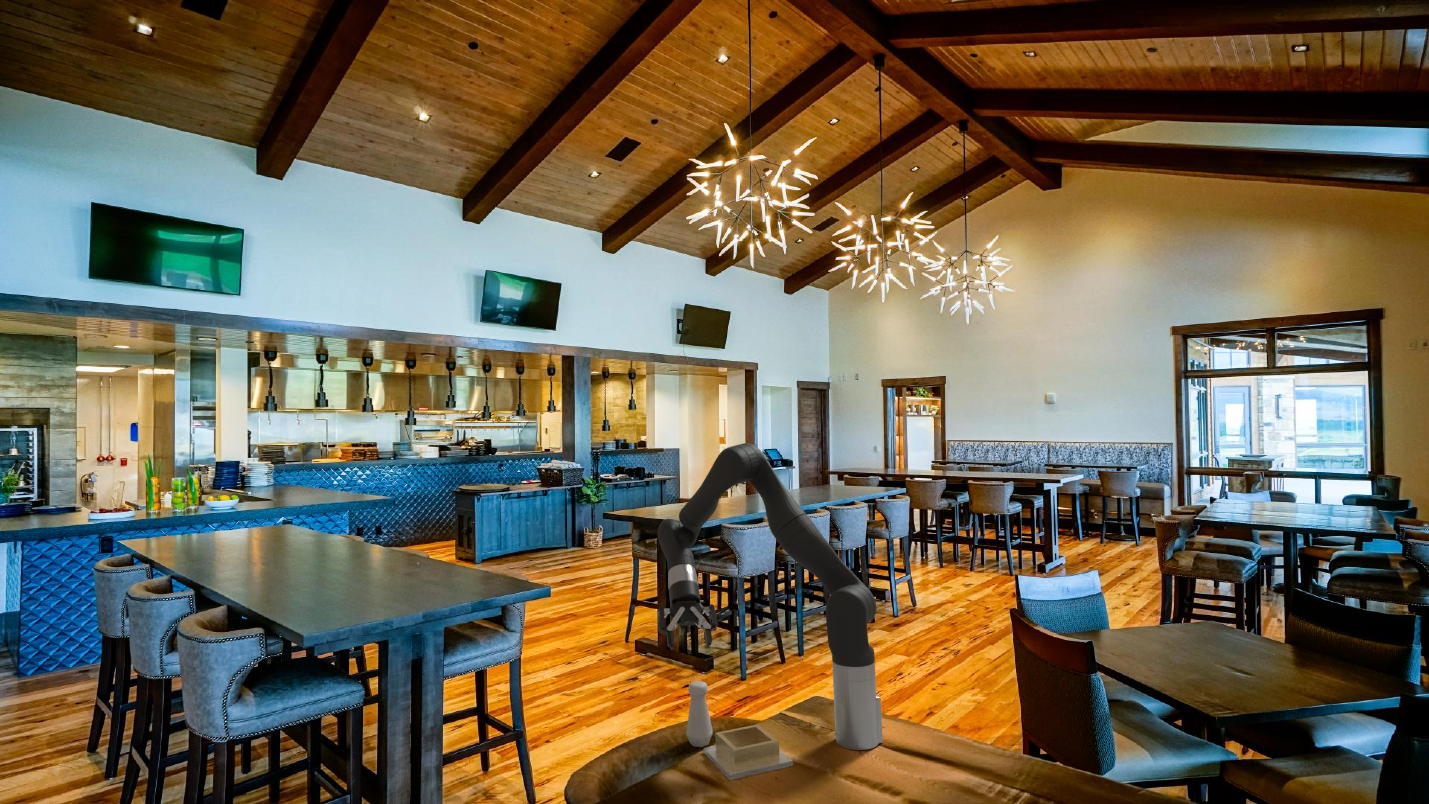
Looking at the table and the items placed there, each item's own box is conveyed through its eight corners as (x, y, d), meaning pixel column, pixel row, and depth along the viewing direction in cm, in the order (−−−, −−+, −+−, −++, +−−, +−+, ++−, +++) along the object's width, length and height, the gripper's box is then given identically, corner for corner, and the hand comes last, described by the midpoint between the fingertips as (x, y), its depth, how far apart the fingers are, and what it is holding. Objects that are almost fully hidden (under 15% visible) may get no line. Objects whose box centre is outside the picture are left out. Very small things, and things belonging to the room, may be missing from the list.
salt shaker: (709, 749, 150) (707, 687, 151) (684, 748, 152) (682, 687, 153) (715, 738, 156) (713, 679, 157) (690, 737, 157) (688, 678, 158)
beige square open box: (762, 740, 154) (761, 719, 155) (793, 765, 141) (792, 743, 142) (703, 752, 149) (703, 731, 149) (729, 780, 136) (729, 756, 136)
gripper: (656, 579, 172) (662, 641, 161) (713, 577, 175) (722, 637, 163) (654, 596, 177) (659, 656, 166) (709, 594, 180) (717, 653, 169)
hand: (690, 647), depth 165 cm, fingers open, 8 cm apart
